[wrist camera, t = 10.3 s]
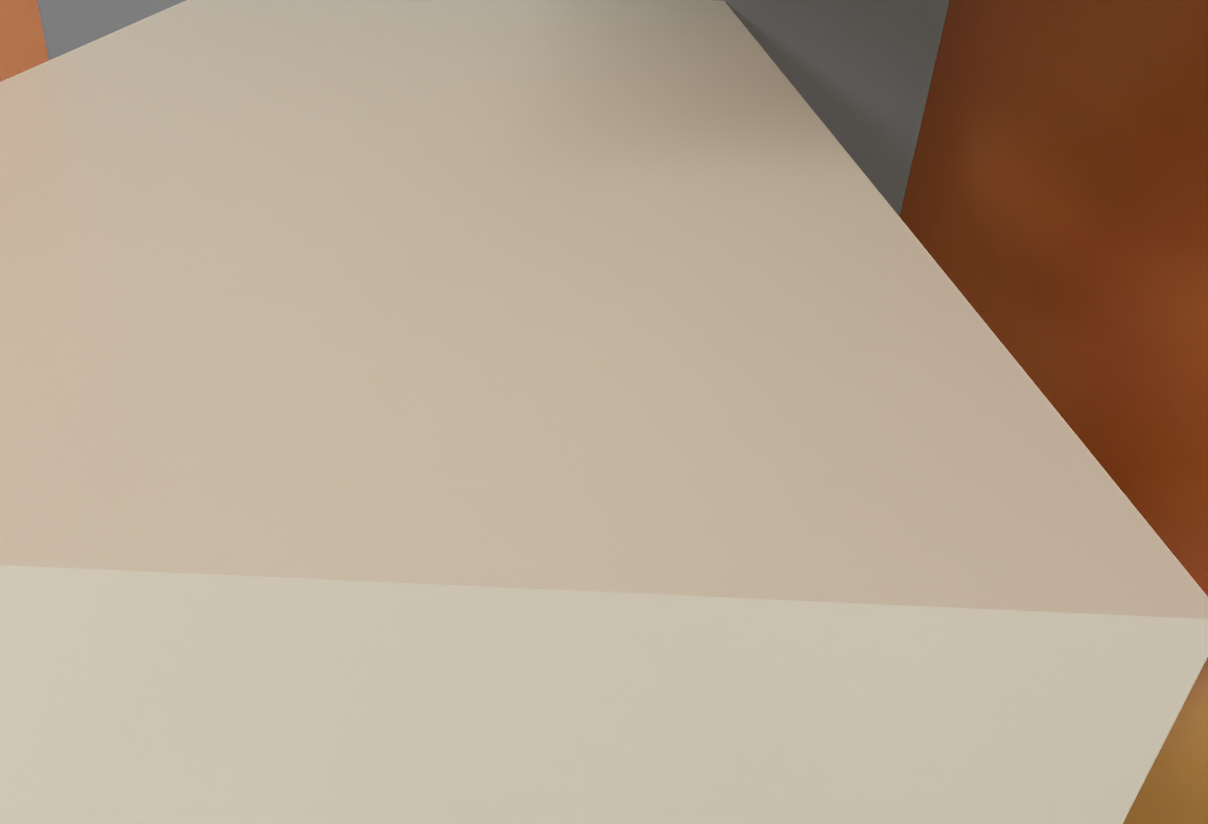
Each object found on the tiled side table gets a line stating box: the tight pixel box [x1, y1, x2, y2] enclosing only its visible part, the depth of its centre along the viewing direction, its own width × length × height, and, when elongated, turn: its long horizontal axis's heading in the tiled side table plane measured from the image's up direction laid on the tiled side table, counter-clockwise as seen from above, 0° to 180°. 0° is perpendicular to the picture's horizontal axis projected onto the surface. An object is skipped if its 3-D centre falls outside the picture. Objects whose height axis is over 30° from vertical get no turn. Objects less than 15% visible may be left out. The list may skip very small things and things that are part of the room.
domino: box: [0, 0, 1208, 824], centre depth 7 cm, size 2×5×10 cm, turn 86°
